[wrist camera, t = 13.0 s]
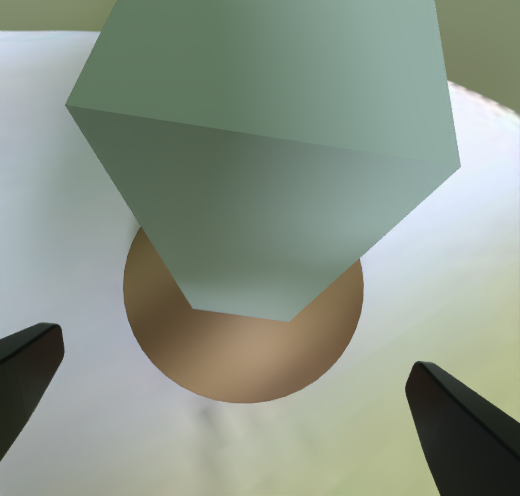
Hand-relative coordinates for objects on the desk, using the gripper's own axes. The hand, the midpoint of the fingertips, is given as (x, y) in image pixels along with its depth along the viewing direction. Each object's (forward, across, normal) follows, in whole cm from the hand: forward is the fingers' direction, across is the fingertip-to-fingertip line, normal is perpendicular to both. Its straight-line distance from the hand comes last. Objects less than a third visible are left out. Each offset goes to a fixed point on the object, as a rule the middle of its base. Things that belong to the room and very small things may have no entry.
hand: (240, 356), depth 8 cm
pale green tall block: (+9, 0, +2) cm, 9 cm away
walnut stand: (+11, 0, +4) cm, 12 cm away
